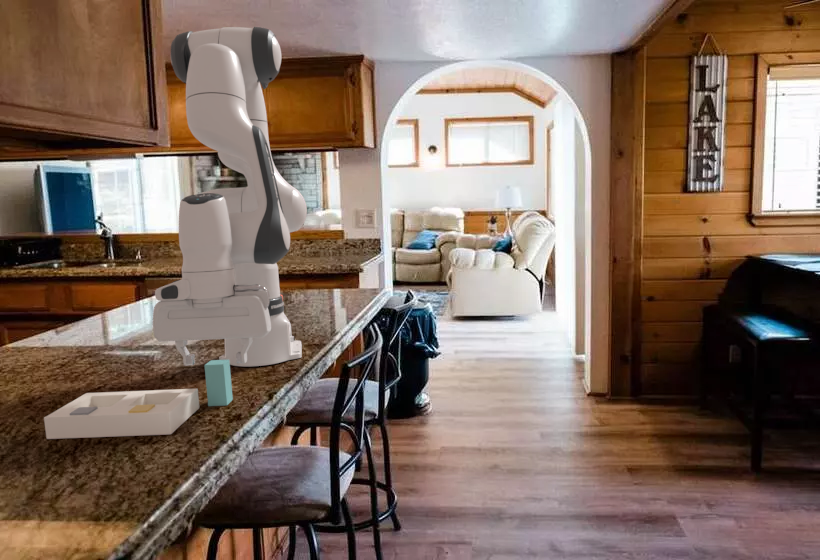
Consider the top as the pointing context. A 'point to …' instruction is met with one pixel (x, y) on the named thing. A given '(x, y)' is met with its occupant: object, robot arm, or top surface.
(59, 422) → the socket block
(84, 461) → the top surface
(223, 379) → the plug
